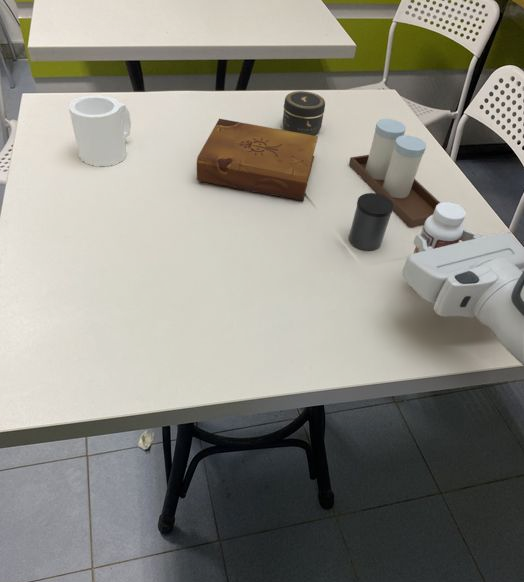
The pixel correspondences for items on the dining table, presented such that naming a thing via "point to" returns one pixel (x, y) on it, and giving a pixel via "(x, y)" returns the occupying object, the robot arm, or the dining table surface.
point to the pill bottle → (444, 225)
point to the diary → (257, 159)
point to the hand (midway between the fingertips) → (436, 233)
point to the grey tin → (370, 221)
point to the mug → (100, 129)
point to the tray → (408, 208)
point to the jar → (303, 112)
